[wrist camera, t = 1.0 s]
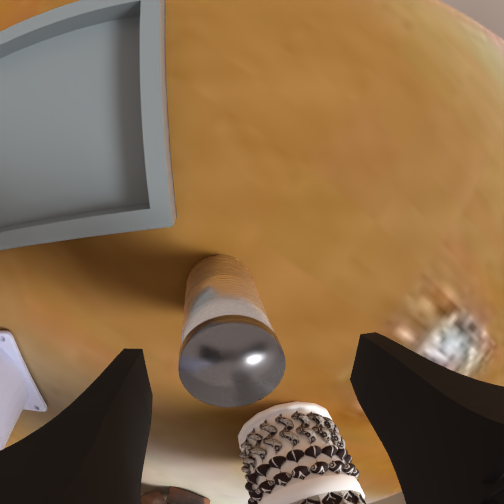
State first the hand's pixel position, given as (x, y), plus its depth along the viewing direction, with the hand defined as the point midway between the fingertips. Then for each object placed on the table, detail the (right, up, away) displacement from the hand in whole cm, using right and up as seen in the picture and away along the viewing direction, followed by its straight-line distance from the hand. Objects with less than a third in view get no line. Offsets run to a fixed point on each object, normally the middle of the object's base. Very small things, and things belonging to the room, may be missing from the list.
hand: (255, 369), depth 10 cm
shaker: (-2, +2, +9) cm, 10 cm away
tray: (-13, +11, +4) cm, 17 cm away
